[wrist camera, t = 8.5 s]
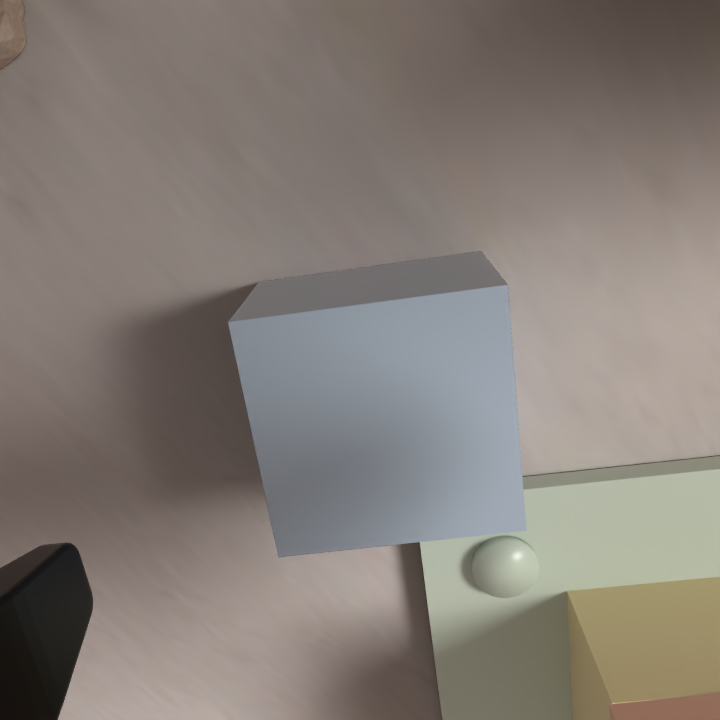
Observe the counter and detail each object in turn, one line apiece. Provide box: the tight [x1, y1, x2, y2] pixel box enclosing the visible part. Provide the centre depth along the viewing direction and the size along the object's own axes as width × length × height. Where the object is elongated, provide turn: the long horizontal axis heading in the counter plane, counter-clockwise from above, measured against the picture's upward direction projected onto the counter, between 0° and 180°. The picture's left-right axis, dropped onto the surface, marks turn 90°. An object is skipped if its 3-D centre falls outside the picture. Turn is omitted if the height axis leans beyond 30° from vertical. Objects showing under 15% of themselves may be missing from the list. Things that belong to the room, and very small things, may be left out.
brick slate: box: [228, 251, 527, 557], centre depth 14 cm, size 5×5×4 cm
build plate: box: [420, 456, 720, 720], centre depth 16 cm, size 12×11×4 cm
